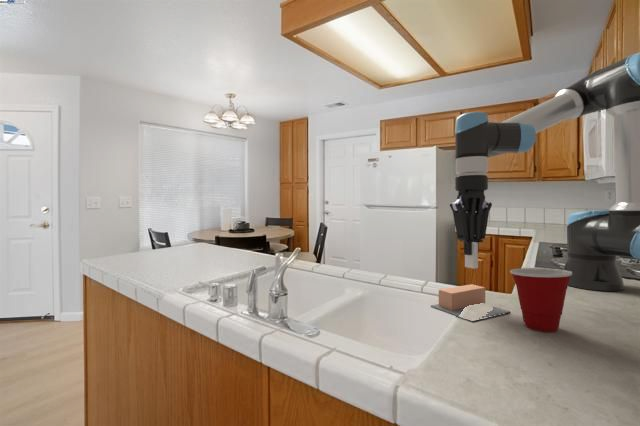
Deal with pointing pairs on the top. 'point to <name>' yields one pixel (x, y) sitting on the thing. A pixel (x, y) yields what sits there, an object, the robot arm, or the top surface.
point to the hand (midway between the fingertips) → (471, 267)
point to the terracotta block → (461, 296)
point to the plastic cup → (541, 296)
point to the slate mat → (458, 311)
